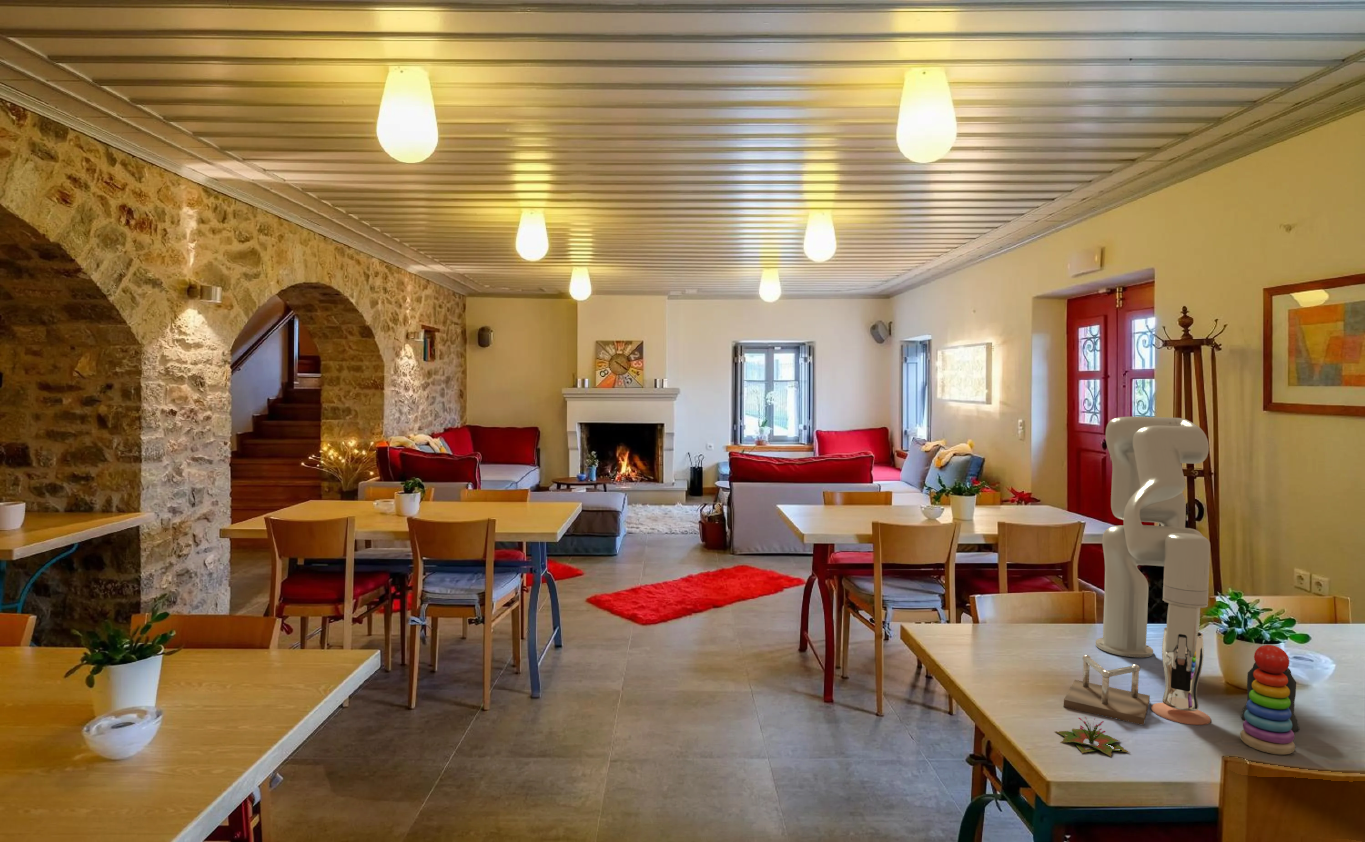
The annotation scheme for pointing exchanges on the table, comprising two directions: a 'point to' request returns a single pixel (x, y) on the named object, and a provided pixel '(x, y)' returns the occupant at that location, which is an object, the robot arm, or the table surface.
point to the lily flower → (1091, 739)
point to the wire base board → (1117, 706)
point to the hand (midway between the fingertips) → (1181, 683)
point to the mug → (1292, 688)
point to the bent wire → (1106, 674)
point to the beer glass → (1189, 698)
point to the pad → (1181, 715)
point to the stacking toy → (1269, 704)
